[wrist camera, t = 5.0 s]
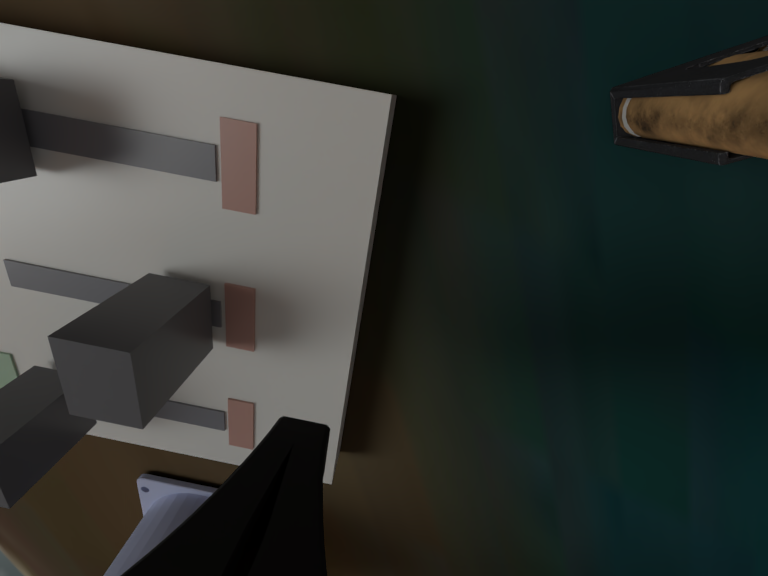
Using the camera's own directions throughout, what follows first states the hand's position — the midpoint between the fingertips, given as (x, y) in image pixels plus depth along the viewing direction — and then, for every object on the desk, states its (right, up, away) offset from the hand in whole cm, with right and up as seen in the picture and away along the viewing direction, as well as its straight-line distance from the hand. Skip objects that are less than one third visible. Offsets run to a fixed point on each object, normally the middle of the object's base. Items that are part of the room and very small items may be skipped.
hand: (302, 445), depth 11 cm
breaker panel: (-10, +5, +7) cm, 13 cm away
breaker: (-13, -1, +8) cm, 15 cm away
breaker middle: (-6, +4, +5) cm, 8 cm away
